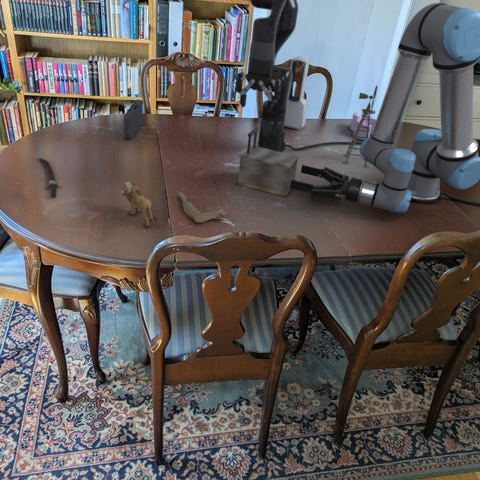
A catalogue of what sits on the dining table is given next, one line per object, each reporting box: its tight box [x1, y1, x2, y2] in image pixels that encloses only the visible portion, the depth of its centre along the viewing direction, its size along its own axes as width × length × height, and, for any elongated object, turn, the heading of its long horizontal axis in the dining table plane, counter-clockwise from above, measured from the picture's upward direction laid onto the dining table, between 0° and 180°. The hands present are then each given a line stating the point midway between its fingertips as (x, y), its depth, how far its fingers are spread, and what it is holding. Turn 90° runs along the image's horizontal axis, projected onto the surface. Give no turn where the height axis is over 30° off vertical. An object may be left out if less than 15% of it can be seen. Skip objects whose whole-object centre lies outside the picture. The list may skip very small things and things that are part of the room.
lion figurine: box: [119, 181, 159, 227], centre depth 134 cm, size 15×5×9 cm, turn 50°
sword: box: [40, 158, 59, 198], centre depth 151 cm, size 31×3×1 cm, turn 26°
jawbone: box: [177, 191, 228, 224], centre depth 141 cm, size 9×20×2 cm, turn 50°
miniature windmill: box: [345, 85, 378, 167], centre depth 179 cm, size 9×8×30 cm
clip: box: [349, 112, 377, 141], centre depth 214 cm, size 20×12×7 cm, turn 11°
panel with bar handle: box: [237, 126, 299, 169], centre depth 154 cm, size 18×10×8 cm, turn 68°
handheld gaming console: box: [123, 99, 144, 141], centre depth 190 cm, size 23×3×10 cm, turn 178°
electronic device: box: [284, 56, 310, 131], centre depth 208 cm, size 12×8×30 cm, turn 71°
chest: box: [237, 157, 299, 197], centre depth 159 cm, size 17×10×10 cm, turn 68°
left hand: (255, 109), depth 150 cm, fingers open, 8 cm apart
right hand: (296, 176), depth 155 cm, fingers open, 13 cm apart
